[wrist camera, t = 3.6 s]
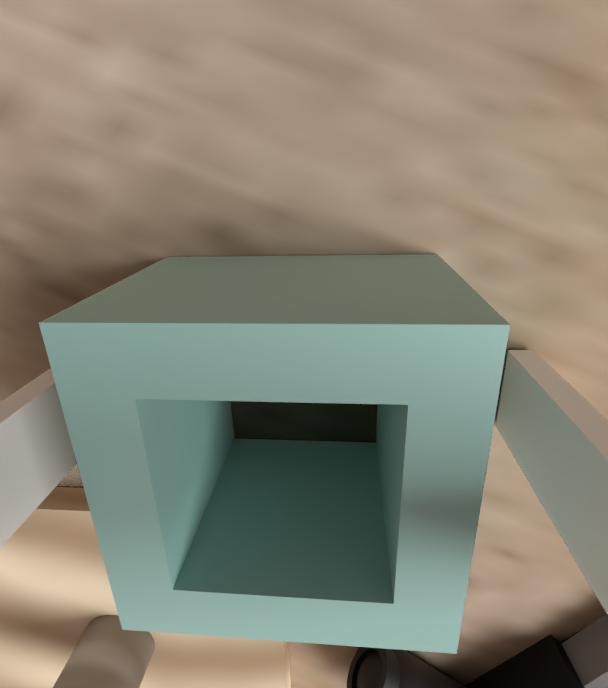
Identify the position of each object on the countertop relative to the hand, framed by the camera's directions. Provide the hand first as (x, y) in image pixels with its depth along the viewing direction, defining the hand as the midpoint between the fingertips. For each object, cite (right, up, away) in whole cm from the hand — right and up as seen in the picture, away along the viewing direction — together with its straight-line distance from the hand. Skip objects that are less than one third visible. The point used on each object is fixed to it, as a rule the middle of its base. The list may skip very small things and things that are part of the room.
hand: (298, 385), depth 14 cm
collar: (0, 0, 0) cm, 0 cm away
